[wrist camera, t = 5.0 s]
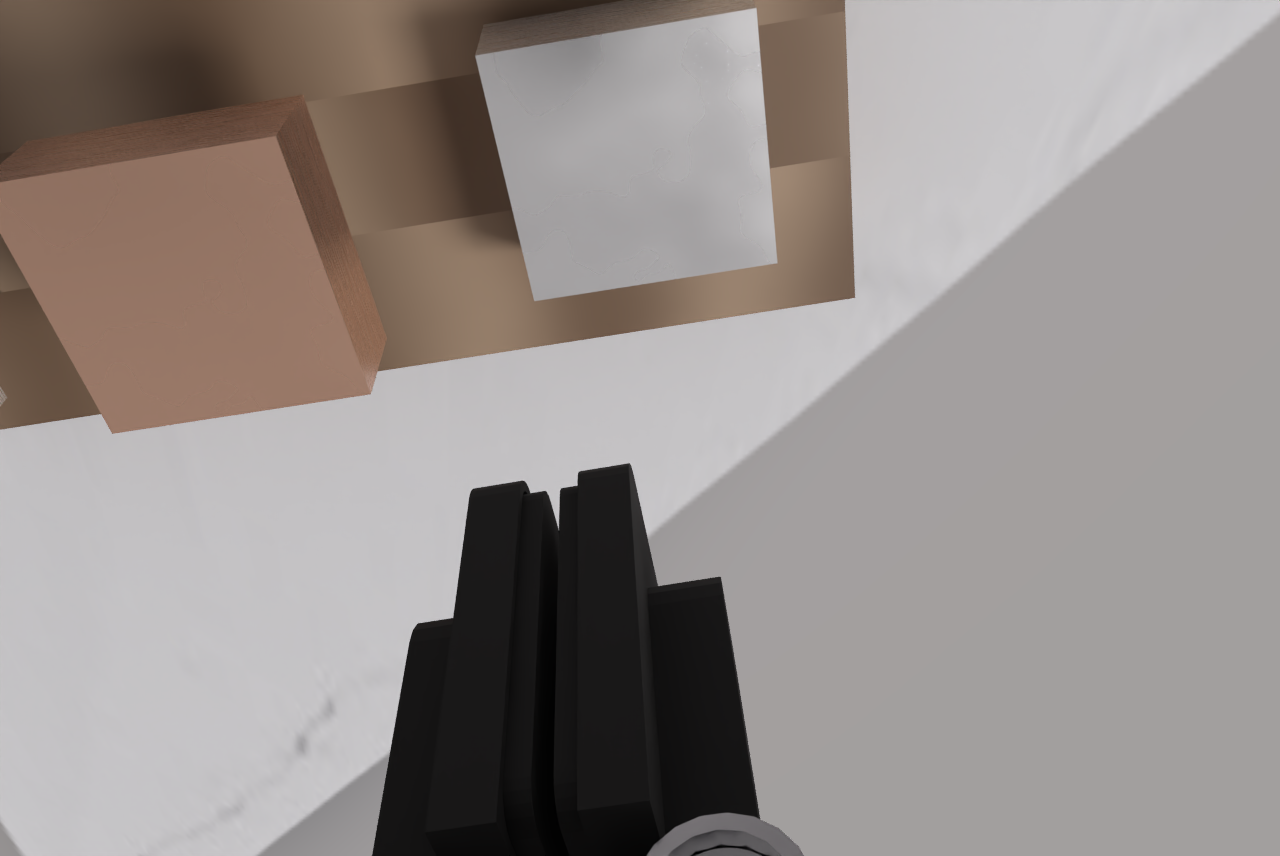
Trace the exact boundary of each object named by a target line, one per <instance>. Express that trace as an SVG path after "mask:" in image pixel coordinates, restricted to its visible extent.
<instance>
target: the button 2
mask: <svg viewBox="0 0 1280 856" xmlns="http://www.w3.org/2000/svg"><path fill="white" fill-rule="evenodd" d="M475 57H476V61H477V65H478V70H479V74H480V78H481V82H482V86H483V90H484V94H485V99H486V103H487V107H488V111H489V115H490V119H491V124H492V128H493V132H494V136H495V140H496V144H497V148H498V153H499V157H500V161H501V165H502V169H503V173H504V177H505V182H506V186H507V190H508V194H509V198H510V202H511V207H512V211H513V215H514V219H515V223H516V227H517V231H518V236H519V240H520V244H521V248H522V252H523V256H524V261H525V265H526V269H527V273H528V277H529V281H530V285H531V290H532V294H533V298H534V301H539V300H546V299H552V298H558V297H565V296H571V295H578V294H584V293H590V292H597V291H603V290H610V289H616V288H622V287H629V286H635V285H641V284H648V283H654V282H661V281H667V280H673V279H680V278H686V277H693V276H699V275H705V274H712V273H718V272H725V271H731V270H737V269H744V268H750V267H756V266H763V265H769V264H776V263H777V252H776V239H775V227H774V215H773V203H772V191H771V179H770V167H769V154H768V142H767V130H766V118H765V106H764V94H763V82H762V69H761V57H760V45H759V33H758V21H757V9H756V6H755V4H754V2H753V0H624V1H619V2H613V3H607V4H601V5H595V6H589V7H583V8H578V9H572V10H566V11H560V12H554V13H548V14H542V15H537V16H531V17H525V18H519V19H513V20H507V21H502V22H496V23H490V24H484V25H483V29H482V33H481V36H480V40H479V44H478V47H477V51H476V54H475Z"/></svg>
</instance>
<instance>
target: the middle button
mask: <svg viewBox="0 0 1280 856" xmlns="http://www.w3.org/2000/svg"><path fill="white" fill-rule="evenodd" d="M0 234H1V236H2V238H3V239H4V241H5V243H6V245H7V247H8V248H9V250H10V252H11V254H12V255H13V257H14V259H15V261H16V263H17V264H18V266H19V268H20V270H21V272H22V273H23V275H24V277H25V279H26V280H27V282H28V284H29V286H30V288H31V289H32V291H33V293H34V295H35V297H36V298H37V300H38V302H39V304H40V305H41V307H42V309H43V311H44V313H45V314H46V316H47V318H48V320H49V322H50V323H51V325H52V327H53V329H54V330H55V332H56V334H57V336H58V338H59V339H60V341H61V343H62V345H63V347H64V348H65V350H66V352H67V354H68V355H69V357H70V359H71V361H72V363H73V364H74V366H75V368H76V370H77V371H78V373H79V375H80V377H81V379H82V380H83V382H84V384H85V386H86V388H87V389H88V391H89V393H90V395H91V396H92V398H93V400H94V402H95V404H96V405H97V407H98V409H99V411H100V413H101V414H102V416H103V418H104V420H105V421H106V423H107V425H108V427H109V429H110V430H111V432H112V434H113V433H120V432H126V431H133V430H139V429H146V428H152V427H159V426H166V425H172V424H179V423H185V422H192V421H198V420H205V419H211V418H218V417H224V416H231V415H237V414H244V413H250V412H257V411H264V410H270V409H277V408H283V407H290V406H296V405H303V404H309V403H316V402H322V401H329V400H335V399H342V398H348V397H355V396H362V395H368V394H371V391H372V388H373V385H374V381H375V378H376V374H377V371H378V367H379V364H380V361H381V357H382V354H383V350H384V347H385V343H386V340H387V337H386V334H385V331H384V329H383V326H382V323H381V320H380V317H379V314H378V311H377V308H376V305H375V302H374V299H373V297H372V294H371V291H370V288H369V285H368V282H367V279H366V276H365V273H364V270H363V267H362V265H361V262H360V259H359V256H358V253H357V250H356V247H355V244H354V241H353V238H352V236H351V233H350V230H349V227H348V224H347V221H346V218H345V215H344V212H343V209H342V206H341V204H340V201H339V198H338V195H337V192H336V189H335V186H334V183H333V180H332V177H331V174H330V172H329V169H328V166H327V163H326V160H325V157H324V154H323V151H322V148H321V145H320V142H319V140H318V137H317V134H316V131H315V128H314V125H313V122H312V119H311V116H310V113H309V110H308V108H307V105H306V102H305V99H304V96H303V95H297V96H291V97H286V98H280V99H274V100H268V101H262V102H256V103H250V104H244V105H238V106H232V107H226V108H220V109H214V110H209V111H203V112H197V113H191V114H185V115H179V116H173V117H167V118H161V119H155V120H149V121H143V122H138V123H132V124H126V125H120V126H114V127H108V128H102V129H96V130H90V131H84V132H78V133H72V134H67V135H61V136H55V137H49V138H43V139H37V140H31V141H27V142H26V143H24V144H23V145H22V146H21V147H20V148H19V149H17V150H16V151H15V152H14V153H13V154H12V155H10V156H9V157H8V158H7V159H6V160H5V161H3V162H2V163H1V164H0Z"/></svg>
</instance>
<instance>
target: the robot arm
mask: <svg viewBox="0 0 1280 856" xmlns="http://www.w3.org/2000/svg"><path fill="white" fill-rule="evenodd" d="M372 856H804V855H803V853H802V852H801V850H800V848H799V846H798V845H796V844H795V843H794V842H793V841H792V840H791V839H790V838H789V837H788V836H787V835H785V833H783V832H782V831H781V830H780V829H779V828H777V827H775V826H773V825H771V824H769V823H767V822H765V821H762V820H760V815H759V809H758V803H757V796H756V790H755V784H754V777H753V771H752V765H751V759H750V752H749V746H748V740H747V733H746V727H745V721H744V714H743V709H742V702H741V696H740V690H739V683H738V677H737V671H736V665H735V659H734V652H733V646H732V640H731V634H730V629H729V622H728V616H727V610H726V605H725V599H724V593H723V587H722V581H721V577H715V578H708V579H702V580H696V581H689V582H683V583H677V584H670V585H663V586H658V584H657V580H656V575H655V570H654V566H653V561H652V557H651V552H650V548H649V543H648V539H647V534H646V529H645V525H644V520H643V516H642V511H641V507H640V502H639V498H638V493H637V488H636V484H635V479H634V475H633V471H632V468H631V465H630V463H629V464H623V465H617V466H610V467H604V468H598V469H592V470H586V471H580V472H579V473H578V486H573V487H567V488H561V490H560V512H559V530H558V526H557V523H556V519H555V515H554V512H553V508H552V505H551V501H550V498H549V496H548V494H547V492H546V491H542V492H536V493H530V491H529V488H528V486H527V484H526V482H524V481H518V482H512V483H506V484H500V485H493V486H487V487H481V488H475V489H473V490H472V491H471V493H470V497H469V504H468V512H467V519H466V527H465V534H464V542H463V549H462V557H461V564H460V572H459V579H458V587H457V594H456V602H455V609H454V617H453V618H451V619H444V620H438V621H431V622H425V623H418V624H417V625H416V627H415V628H414V629H413V632H412V635H411V639H410V643H409V648H408V654H407V660H406V665H405V671H404V677H403V682H402V688H401V694H400V700H399V705H398V711H397V717H396V722H395V728H394V734H393V739H392V745H391V751H390V757H389V762H388V768H387V774H386V779H385V785H384V791H383V797H382V802H381V808H380V814H379V819H378V825H377V831H376V837H375V843H374V848H373V854H372Z"/></svg>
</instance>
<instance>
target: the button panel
mask: <svg viewBox="0 0 1280 856" xmlns="http://www.w3.org/2000/svg"><path fill="white" fill-rule="evenodd" d="M619 1H624V0H0V164H1V163H2V162H3V161H5V160H6V159H7V158H8V157H9V156H10V155H12V154H13V153H14V152H15V151H16V150H17V149H19V148H20V147H21V146H22V145H23V144H24V143H26V142H27V141H31V140H37V139H43V138H49V137H55V136H61V135H67V134H72V133H78V132H84V131H90V130H96V129H102V128H108V127H114V126H120V125H126V124H132V123H138V122H143V121H149V120H155V119H161V118H167V117H173V116H179V115H185V114H191V113H197V112H203V111H209V110H214V109H220V108H226V107H232V106H238V105H244V104H250V103H256V102H262V101H268V100H274V99H280V98H286V97H291V96H297V95H303V96H304V99H305V102H306V105H307V108H308V110H309V113H310V116H311V119H312V122H313V125H314V128H315V131H316V134H317V137H318V140H319V142H320V145H321V148H322V151H323V154H324V157H325V160H326V163H327V166H328V169H329V172H330V174H331V177H332V180H333V183H334V186H335V189H336V192H337V195H338V198H339V201H340V204H341V206H342V209H343V212H344V215H345V218H346V221H347V224H348V227H349V230H350V233H351V236H352V238H353V241H354V244H355V247H356V250H357V253H358V256H359V259H360V262H361V265H362V267H363V270H364V273H365V276H366V279H367V282H368V285H369V288H370V291H371V294H372V297H373V299H374V302H375V305H376V308H377V311H378V314H379V317H380V320H381V323H382V326H383V329H384V331H385V334H386V337H387V340H386V343H385V347H384V350H383V354H382V357H381V361H380V364H379V367H378V371H383V370H389V369H396V368H402V367H409V366H415V365H422V364H428V363H435V362H441V361H448V360H454V359H460V358H467V357H473V356H480V355H486V354H493V353H499V352H506V351H512V350H519V349H525V348H532V347H538V346H545V345H551V344H558V343H564V342H571V341H577V340H584V339H590V338H597V337H603V336H610V335H616V334H623V333H629V332H636V331H642V330H649V329H655V328H662V327H668V326H674V325H681V324H687V323H694V322H700V321H707V320H713V319H720V318H726V317H733V316H739V315H746V314H752V313H759V312H765V311H772V310H778V309H785V308H791V307H798V306H804V305H811V304H817V303H824V302H830V301H837V300H843V299H850V298H855V286H854V257H853V228H852V199H851V170H850V141H849V112H848V83H847V54H846V25H845V0H753V2H754V4H755V6H756V9H757V21H758V33H759V45H760V57H761V69H762V82H763V94H764V106H765V118H766V130H767V142H768V154H769V167H770V179H771V191H772V203H773V215H774V227H775V239H776V252H777V263H776V264H769V265H763V266H756V267H750V268H744V269H737V270H731V271H725V272H718V273H712V274H705V275H699V276H693V277H686V278H680V279H673V280H667V281H661V282H654V283H648V284H641V285H635V286H629V287H622V288H616V289H610V290H603V291H597V292H590V293H584V294H578V295H571V296H565V297H558V298H552V299H546V300H539V301H534V298H533V294H532V290H531V285H530V281H529V277H528V273H527V269H526V265H525V261H524V256H523V252H522V248H521V244H520V240H519V236H518V231H517V227H516V223H515V219H514V215H513V211H512V207H511V202H510V198H509V194H508V190H507V186H506V182H505V177H504V173H503V169H502V165H501V161H500V157H499V153H498V148H497V144H496V140H495V136H494V132H493V128H492V124H491V119H490V115H489V111H488V107H487V103H486V99H485V94H484V90H483V86H482V82H481V78H480V74H479V70H478V65H477V61H476V57H475V54H476V51H477V47H478V44H479V40H480V36H481V33H482V29H483V25H484V24H490V23H496V22H502V21H507V20H513V19H519V18H525V17H531V16H537V15H542V14H548V13H554V12H560V11H566V10H572V9H578V8H583V7H589V6H595V5H601V4H607V3H613V2H619ZM0 387H1V388H2V390H3V392H4V393H5V395H6V397H7V399H6V400H5V401H4V402H3V404H2V405H1V406H0V429H7V428H13V427H20V426H26V425H32V424H39V423H45V422H52V421H58V420H65V419H71V418H78V417H84V416H91V415H97V414H101V413H100V411H99V409H98V407H97V405H96V404H95V402H94V400H93V398H92V396H91V395H90V393H89V391H88V389H87V388H86V386H85V384H84V382H83V380H82V379H81V377H80V375H79V373H78V371H77V370H76V368H75V366H74V364H73V363H72V361H71V359H70V357H69V355H68V354H67V352H66V350H65V348H64V347H63V345H62V343H61V341H60V339H59V338H58V336H57V334H56V332H55V330H54V329H53V327H52V325H51V323H50V322H49V320H48V318H47V316H46V314H45V313H44V311H43V309H42V307H41V305H40V304H39V302H38V300H37V298H36V297H35V295H34V293H33V291H32V289H31V288H30V286H29V284H28V282H27V280H26V279H25V277H24V275H23V273H22V272H21V270H20V268H19V266H18V264H17V263H16V261H15V259H14V257H13V255H12V254H11V252H10V250H9V248H8V247H7V245H6V243H5V241H4V239H3V238H2V236H1V234H0Z"/></svg>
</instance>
